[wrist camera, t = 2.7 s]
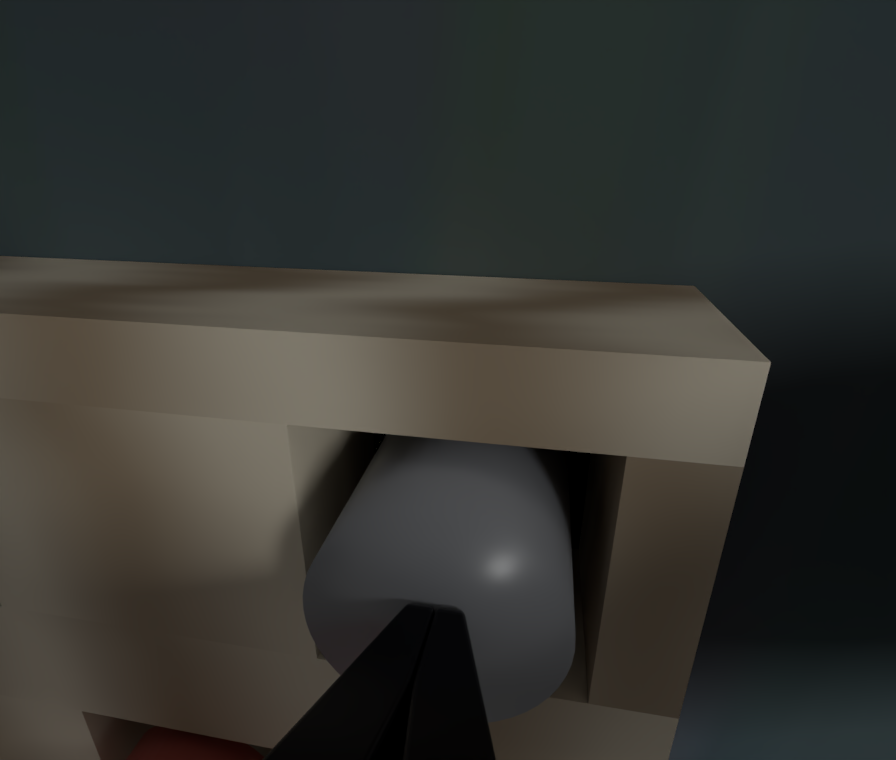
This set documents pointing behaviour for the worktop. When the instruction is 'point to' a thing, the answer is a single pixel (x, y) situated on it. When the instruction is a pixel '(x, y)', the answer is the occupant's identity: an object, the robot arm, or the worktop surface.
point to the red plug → (189, 747)
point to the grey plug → (456, 560)
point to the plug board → (335, 483)
